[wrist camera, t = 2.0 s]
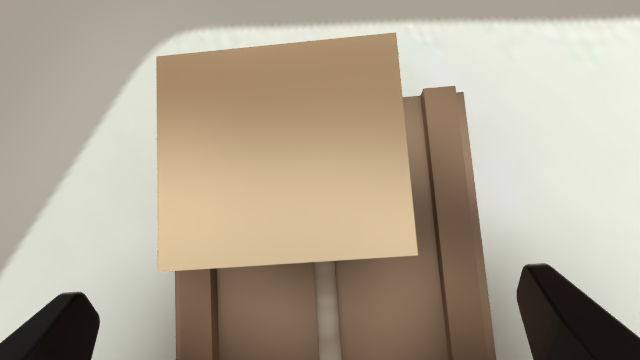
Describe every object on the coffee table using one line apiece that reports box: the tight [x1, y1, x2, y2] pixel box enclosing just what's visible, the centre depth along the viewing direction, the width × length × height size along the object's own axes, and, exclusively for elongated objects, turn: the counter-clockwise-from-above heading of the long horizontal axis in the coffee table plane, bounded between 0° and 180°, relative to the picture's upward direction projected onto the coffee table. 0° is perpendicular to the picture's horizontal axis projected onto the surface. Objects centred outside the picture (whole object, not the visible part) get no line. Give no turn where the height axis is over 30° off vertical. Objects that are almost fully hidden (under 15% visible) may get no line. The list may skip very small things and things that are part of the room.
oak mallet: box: [156, 33, 418, 360], centre depth 12 cm, size 10×4×10 cm, turn 4°
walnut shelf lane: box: [175, 86, 496, 360], centre depth 18 cm, size 11×12×3 cm
